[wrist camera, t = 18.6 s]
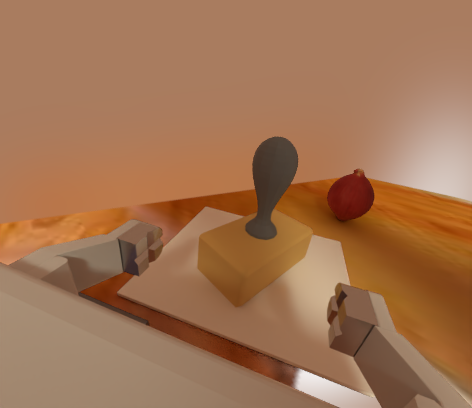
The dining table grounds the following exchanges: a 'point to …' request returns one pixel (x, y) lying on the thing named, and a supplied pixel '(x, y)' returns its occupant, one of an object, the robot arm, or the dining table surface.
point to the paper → (254, 302)
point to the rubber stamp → (257, 232)
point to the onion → (351, 196)
